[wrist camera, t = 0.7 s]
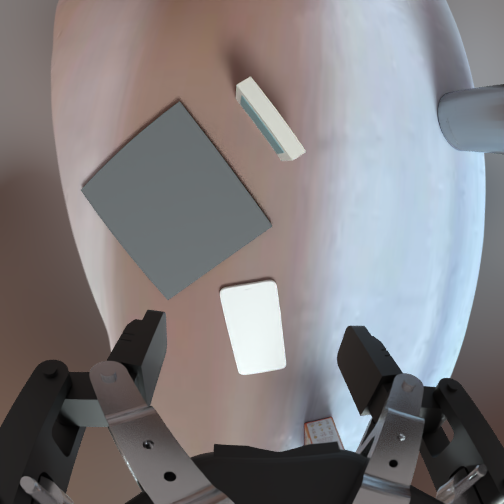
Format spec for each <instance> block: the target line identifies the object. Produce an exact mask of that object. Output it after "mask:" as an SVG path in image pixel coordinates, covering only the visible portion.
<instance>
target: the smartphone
mask: <svg viewBox="0 0 504 504" xmlns="http://www.w3.org/2000/svg"><path fill="white" fill-rule="evenodd" d="M220 299H221V303H222V307H223V312H224V316H225V321H226V325H227V328H228V332H229V336H230V341H231V345H232V349H233V352H234V356H235V360H236V364H237V368H238V371H239V373H240V374H242V375H248V374H254V373H261V372H267V371H273V370H279V369H283V368H284V367H285V366H286V356H285V348H284V340H283V331H282V323H281V313H280V305H279V299H278V291H277V286H276V283H275V281H273V280H264V281H258V282H252V283H246V284H240V285H234V286H228V287H224V288H222V289H221V291H220Z"/></svg>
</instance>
